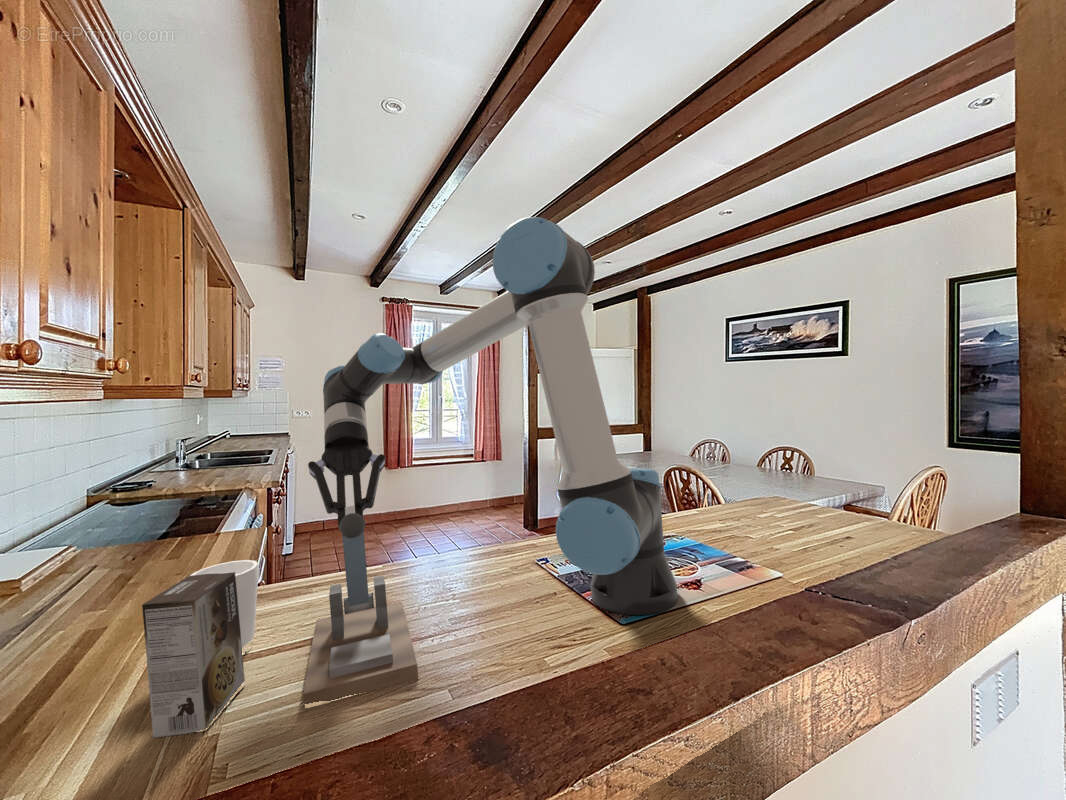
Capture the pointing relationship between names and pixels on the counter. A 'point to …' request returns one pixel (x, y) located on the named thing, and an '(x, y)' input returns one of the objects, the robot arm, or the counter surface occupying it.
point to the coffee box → (192, 652)
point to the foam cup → (241, 592)
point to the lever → (355, 564)
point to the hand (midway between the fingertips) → (352, 546)
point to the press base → (359, 649)
